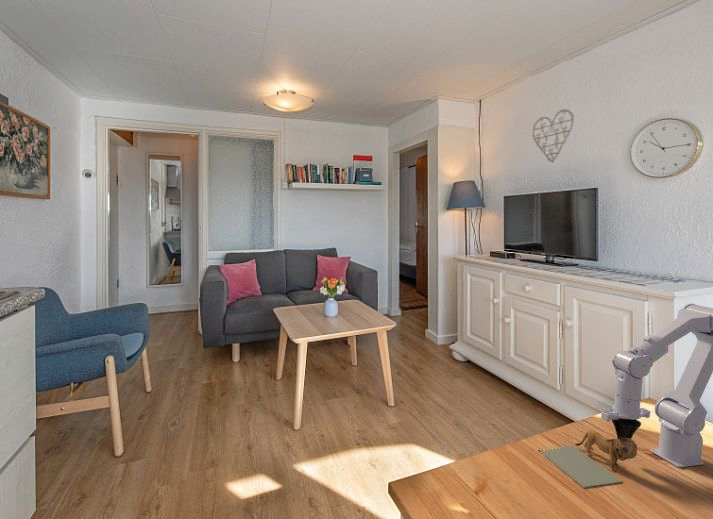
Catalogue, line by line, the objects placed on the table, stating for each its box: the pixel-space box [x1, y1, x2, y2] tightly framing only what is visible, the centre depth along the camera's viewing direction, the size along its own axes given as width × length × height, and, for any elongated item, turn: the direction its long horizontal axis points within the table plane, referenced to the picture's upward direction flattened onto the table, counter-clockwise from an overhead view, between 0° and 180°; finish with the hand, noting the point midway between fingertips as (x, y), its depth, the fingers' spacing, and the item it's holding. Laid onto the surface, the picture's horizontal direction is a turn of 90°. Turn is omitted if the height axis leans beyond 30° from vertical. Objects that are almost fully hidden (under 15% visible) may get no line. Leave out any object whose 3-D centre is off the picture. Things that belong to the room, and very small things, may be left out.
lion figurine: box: [574, 429, 638, 472], centre depth 101 cm, size 15×5×9 cm, turn 33°
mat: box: [539, 444, 624, 489], centre depth 99 cm, size 12×16×1 cm
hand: (623, 443), depth 102 cm, fingers closed
